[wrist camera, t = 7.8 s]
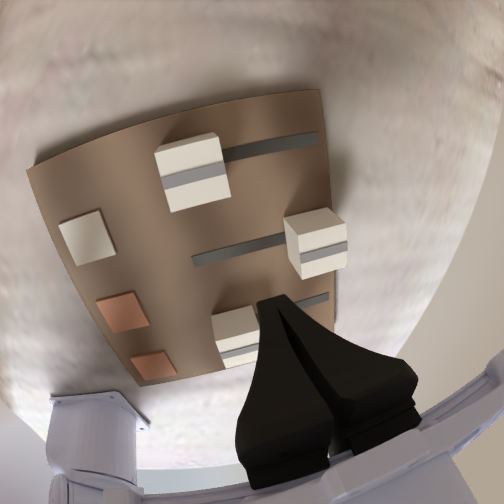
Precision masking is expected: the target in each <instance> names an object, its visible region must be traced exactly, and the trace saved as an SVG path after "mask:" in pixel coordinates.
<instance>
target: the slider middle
mask: <svg viewBox="0 0 504 504" xmlns="http://www.w3.org/2000/svg"><path fill="white" fill-rule="evenodd" d="M283 220H284V228H285V235H286V243H287V250H288V258H289V260H290V262H291V263H292V265H293V266H294V268H295V269H296V271H297V273H298V274H299V276H300V277H301V279H302V280H304V279H307V278H310V277H314V276H317V275H320V274H324V273H327V272H330V271H334V270H337V269H340V268H343V267H346V266H347V232H346V222H344V221H343V220H342V219H341V218H340V217H338V216H337V215H336V214H335V213H334V212H332V211H331V210H330V209H329V208H327V207H326V208H322V209H317V210H313V211H309V212H305V213H301V214H297V215H293V216H288V217H284V218H283Z"/></svg>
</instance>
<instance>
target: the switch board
mask: <svg viewBox="0 0 504 504" xmlns="http://www.w3.org/2000/svg"><path fill="white" fill-rule="evenodd" d="M211 132H214V133H215V134H216V135H217V136H218V137H219V142H220V146H221V151H222V156H223V161H224V164H225V169H226V175H227V179H228V184H229V189H230V194H231V197H229V198H225V199H221V200H217V201H213V202H209V203H205V204H201V205H197V206H194V207H190V208H186V209H182V210H179V211H175V212H172V213H171V211H170V208H169V204H168V201H167V197H166V194H165V191H164V188H163V185H162V181H161V176H160V173H159V169H158V166H157V162H156V158H155V154H154V153H155V152H156V150H157V148H158V147H159V146H161V145H165V144H168V143H172V142H175V141H179V140H183V139H187V138H191V137H195V136H199V135H203V134H207V133H211ZM26 172H27V175H28V178H29V181H30V184H31V187H32V190H33V193H34V195H35V198H36V201H37V204H38V206H39V209H40V211H41V214H42V216H43V219H44V221H45V224H46V226H47V228H48V231H49V233H50V235H51V238H52V240H53V242H54V244H55V247H56V249H57V251H58V253H59V255H60V257H61V259H62V261H63V263H64V266H65V268H66V270H67V271H68V273H69V275H70V277H71V279H72V281H73V283H74V285H75V287H76V289H77V291H78V292H79V294H80V296H81V298H82V300H83V301H84V303H85V305H86V307H87V308H88V310H89V312H90V313H91V315H92V317H93V318H94V320H95V322H96V323H97V325H98V327H99V328H100V330H101V331H102V333H103V335H104V336H105V338H106V339H107V341H108V342H109V344H110V345H111V347H112V348H113V350H114V351H115V353H116V354H117V356H118V357H119V359H120V360H121V361H122V363H123V364H124V366H125V367H126V368H127V370H128V371H129V373H130V374H131V375H132V377H133V378H134V379H135V381H136V382H137V383H138V385H139V386H140V387H142V386H148V385H154V384H160V383H165V382H170V381H175V380H180V379H185V378H190V377H195V376H199V375H204V374H208V373H212V372H216V371H221V370H225V369H226V367H225V365H224V363H223V360H222V358H221V356H220V352H219V350H218V347H217V345H216V342H215V337H214V332H213V326H212V320H211V316H213V315H216V314H220V313H224V312H228V311H232V310H235V309H239V308H243V307H247V306H250V305H252V307H253V310H254V313H255V316H256V319H257V322H258V324H259V327H260V323H259V316H258V311H257V306H256V303H257V302H258V301H261V300H264V299H268V298H271V297H275V296H278V295H282V294H285V295H287V296H288V297H289V298H290V299H291V300H292V301H293V302H294V303H295V304H296V305H297V306H298V307H300V308H301V309H302V310H303V311H304V312H305V313H307V314H308V315H309V316H310V317H312V318H313V319H314V320H315V321H317V322H318V323H320V324H321V325H322V326H324V327H325V328H327V329H328V330H330V331H331V332H333V333H334V271H330V272H327V273H324V274H320V275H317V276H314V277H310V278H307V279H304V280H302V279H301V277H300V276H299V274H298V273H297V271H296V269H295V268H294V266H293V265H292V263H291V262H290V260H289V258H288V250H287V243H286V235H285V228H284V220H283V218H284V217H288V216H293V215H297V214H301V213H305V212H309V211H313V210H317V209H322V208H326V207H327V208H329V209H330V210H331V211H332V205H331V190H330V178H329V166H328V156H327V146H326V137H325V128H324V120H323V112H322V105H321V97H320V91H319V89H313V90H302V91H292V92H284V93H276V94H269V95H262V96H256V97H249V98H244V99H238V100H232V101H227V102H222V103H217V104H213V105H208V106H204V107H199V108H195V109H191V110H187V111H183V112H179V113H175V114H171V115H168V116H164V117H161V118H157V119H154V120H150V121H147V122H144V123H140V124H137V125H134V126H131V127H128V128H125V129H122V130H119V131H116V132H114V133H111V134H108V135H105V136H103V137H100V138H97V139H95V140H92V141H89V142H87V143H84V144H82V145H79V146H77V147H75V148H72V149H70V150H68V151H65V152H63V153H61V154H58V155H56V156H54V157H52V158H50V159H48V160H45V161H43V162H41V163H39V164H37V165H35V166H33V167H31V168H29V169H27V170H26ZM254 362H255V361H254ZM250 363H251V362H250ZM246 364H248V363H246ZM243 365H244V364H243ZM239 366H240V365H239ZM235 367H236V366H235ZM231 368H233V367H231ZM227 369H229V368H227Z"/></svg>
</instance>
